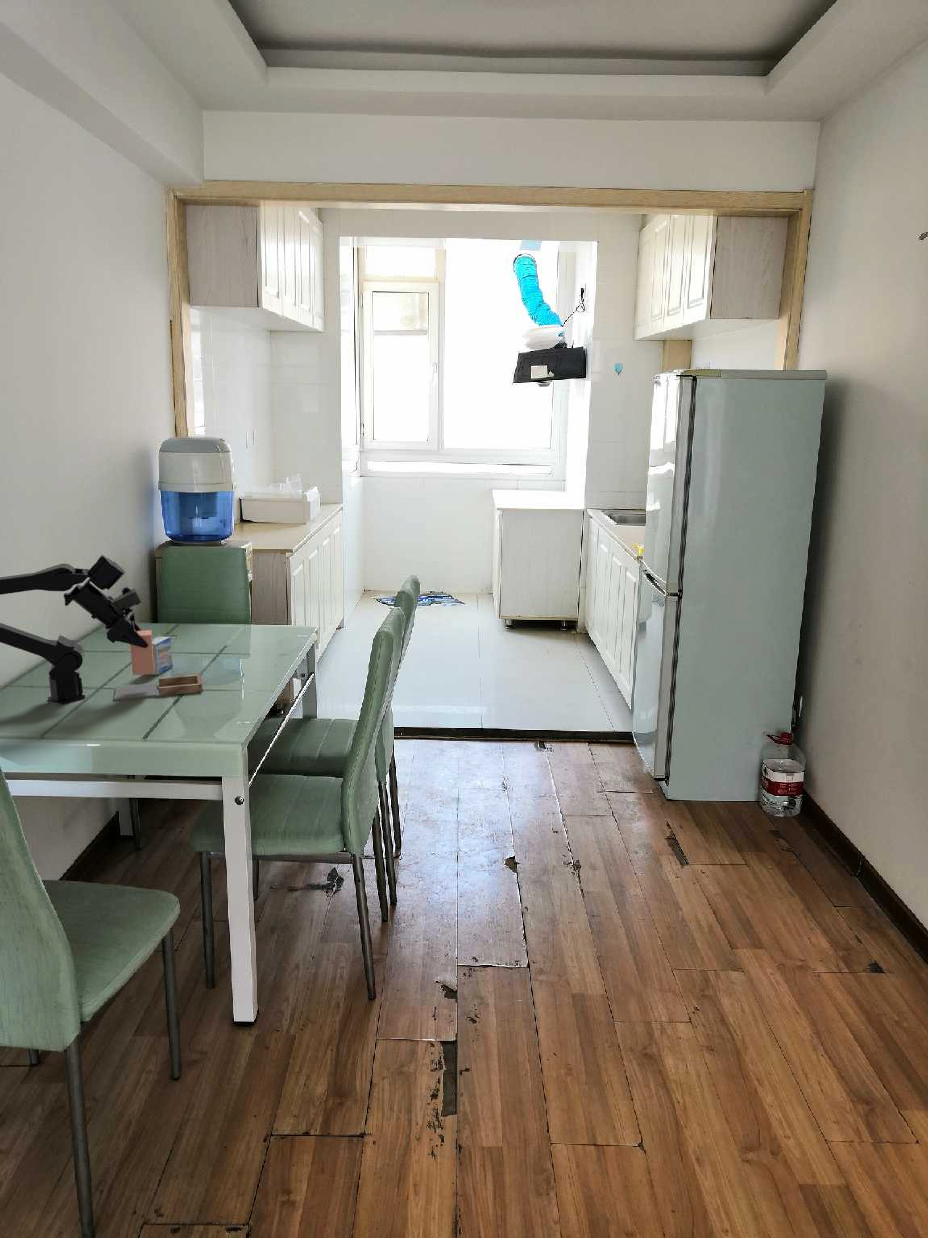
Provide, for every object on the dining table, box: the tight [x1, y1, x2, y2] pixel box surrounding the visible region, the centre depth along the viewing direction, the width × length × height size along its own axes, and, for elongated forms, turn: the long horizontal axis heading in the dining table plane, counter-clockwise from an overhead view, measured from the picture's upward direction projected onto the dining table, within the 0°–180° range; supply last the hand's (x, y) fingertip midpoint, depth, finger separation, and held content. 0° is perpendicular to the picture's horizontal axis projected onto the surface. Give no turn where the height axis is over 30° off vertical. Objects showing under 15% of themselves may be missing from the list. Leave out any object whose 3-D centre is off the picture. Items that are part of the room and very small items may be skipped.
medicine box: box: [147, 636, 174, 676], centre depth 252 cm, size 8×4×9 cm, turn 168°
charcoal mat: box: [113, 682, 158, 702], centre depth 234 cm, size 10×10×1 cm
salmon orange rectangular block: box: [129, 629, 154, 676], centre depth 233 cm, size 5×5×10 cm
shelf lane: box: [157, 673, 204, 697], centre depth 237 cm, size 10×9×2 cm
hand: (147, 644), depth 232 cm, fingers closed on salmon orange rectangular block, 5 cm apart
